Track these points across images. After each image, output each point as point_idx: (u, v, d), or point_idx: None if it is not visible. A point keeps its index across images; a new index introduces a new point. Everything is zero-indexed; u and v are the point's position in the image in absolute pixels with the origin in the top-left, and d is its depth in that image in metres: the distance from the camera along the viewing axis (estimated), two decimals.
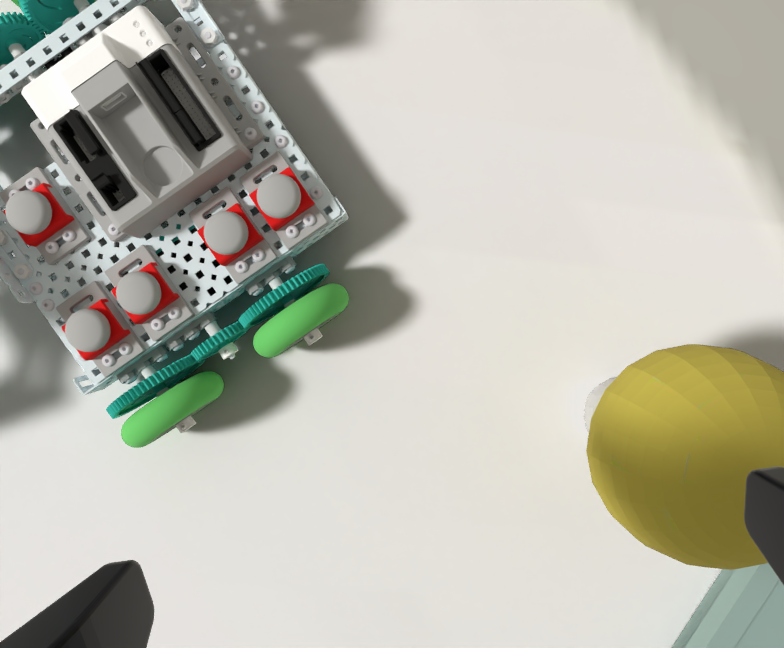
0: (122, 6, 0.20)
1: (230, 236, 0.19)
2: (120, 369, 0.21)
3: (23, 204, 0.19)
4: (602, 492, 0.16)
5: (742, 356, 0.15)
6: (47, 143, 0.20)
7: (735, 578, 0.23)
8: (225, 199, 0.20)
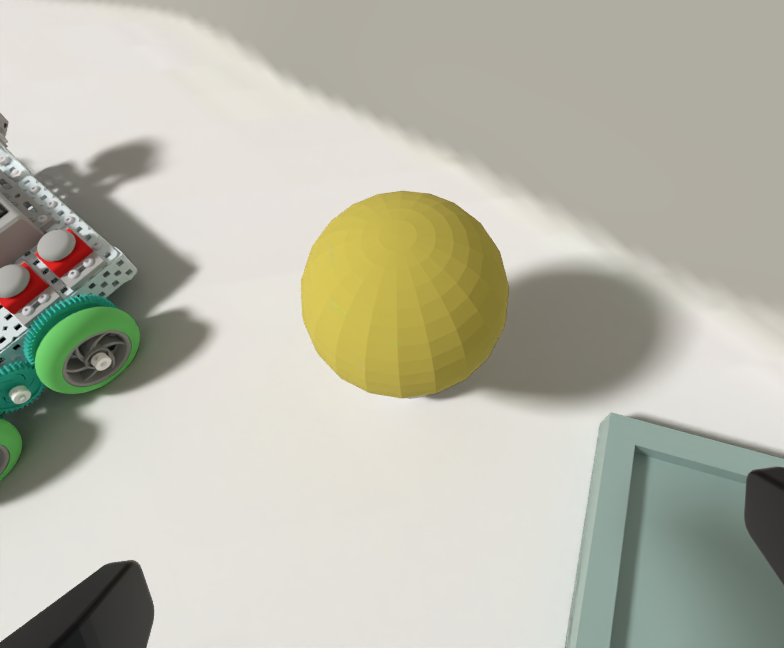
0: None
1: (10, 278, 0.22)
2: None
3: None
4: (315, 347, 0.16)
5: None
6: None
7: (592, 503, 0.20)
8: None
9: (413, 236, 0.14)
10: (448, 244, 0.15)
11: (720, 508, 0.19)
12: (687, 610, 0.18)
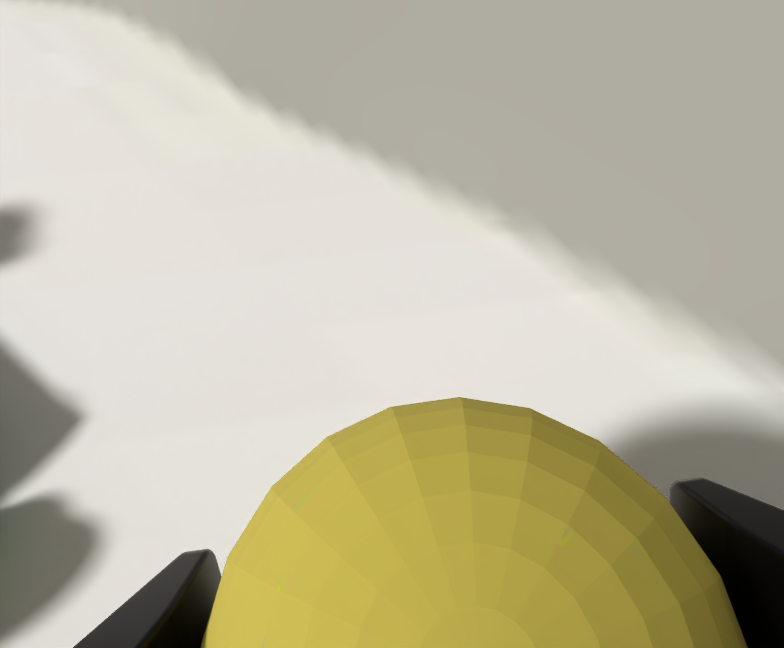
0: None
1: None
2: None
3: None
4: None
5: (439, 400, 0.08)
6: None
7: None
8: None
9: None
10: None
11: None
12: None
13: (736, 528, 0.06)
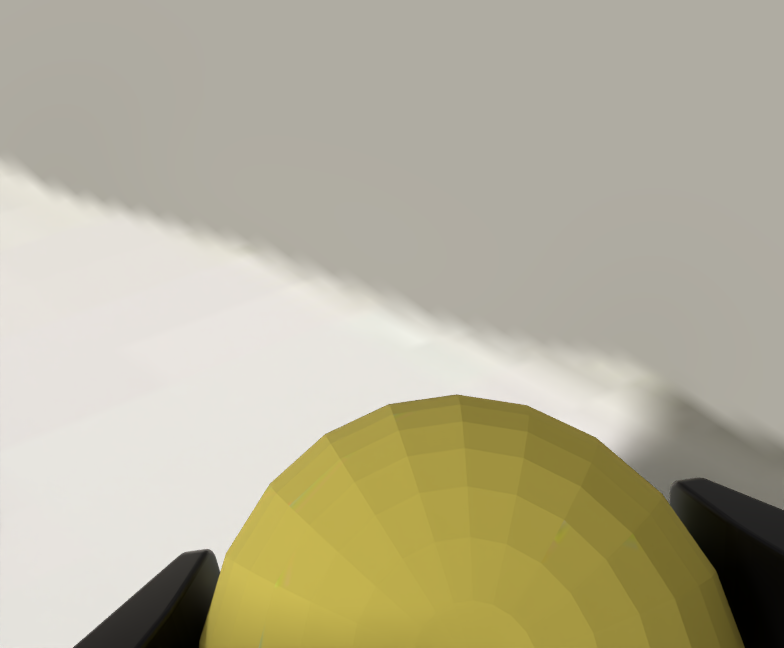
0: None
1: None
2: None
3: None
4: None
5: (436, 397, 0.08)
6: None
7: None
8: None
9: None
10: None
11: None
12: None
13: (736, 528, 0.06)
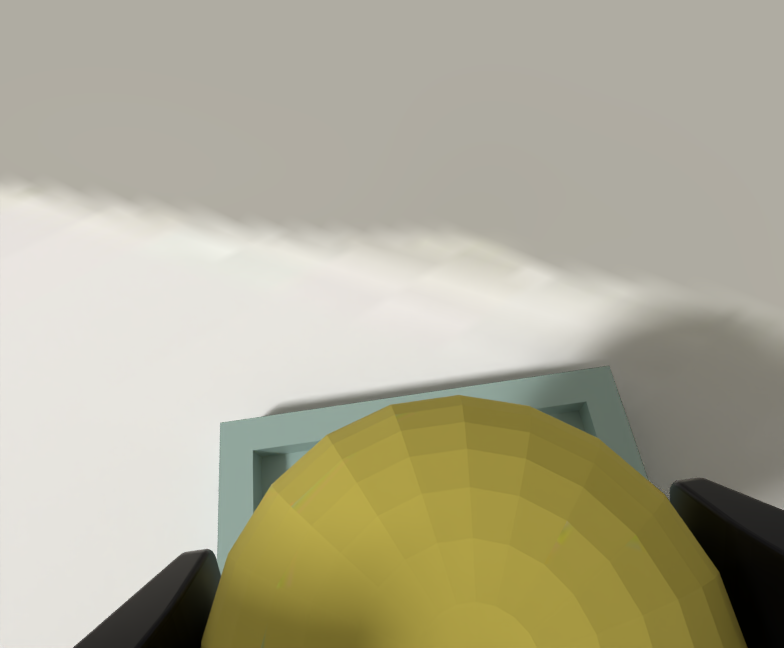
0: None
1: None
2: None
3: None
4: None
5: None
6: None
7: None
8: None
9: None
10: None
11: None
12: None
13: (736, 528, 0.06)
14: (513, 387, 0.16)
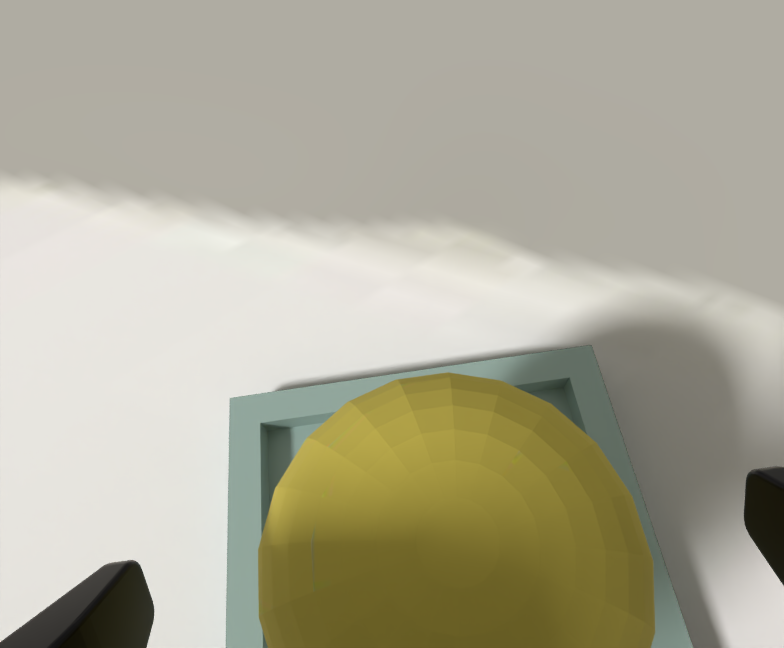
0: None
1: None
2: None
3: None
4: None
5: (432, 374, 0.10)
6: None
7: None
8: None
9: (492, 546, 0.07)
10: (566, 555, 0.07)
11: None
12: None
13: None
14: (502, 365, 0.17)
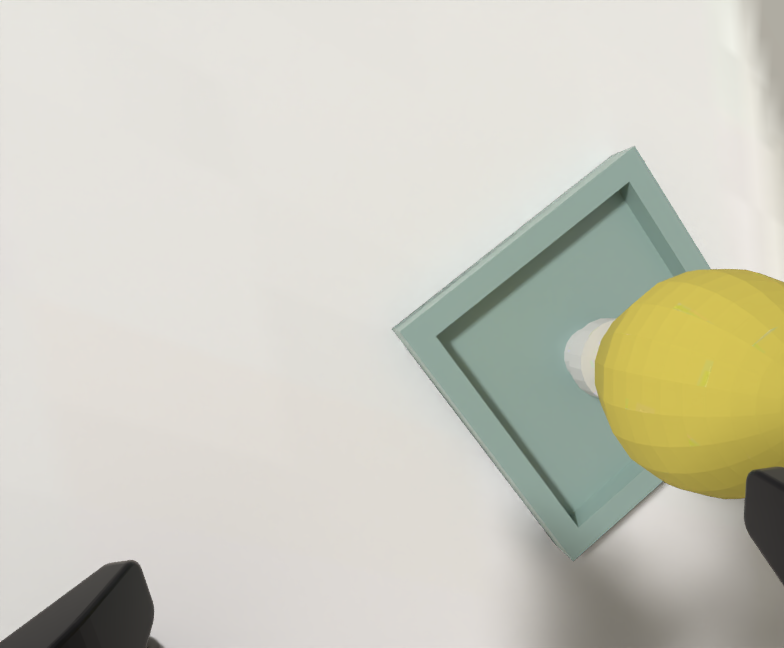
0: None
1: None
2: None
3: None
4: (630, 336, 0.15)
5: None
6: None
7: (562, 198, 0.21)
8: None
9: None
10: None
11: (638, 268, 0.23)
12: (561, 306, 0.22)
13: None
14: None
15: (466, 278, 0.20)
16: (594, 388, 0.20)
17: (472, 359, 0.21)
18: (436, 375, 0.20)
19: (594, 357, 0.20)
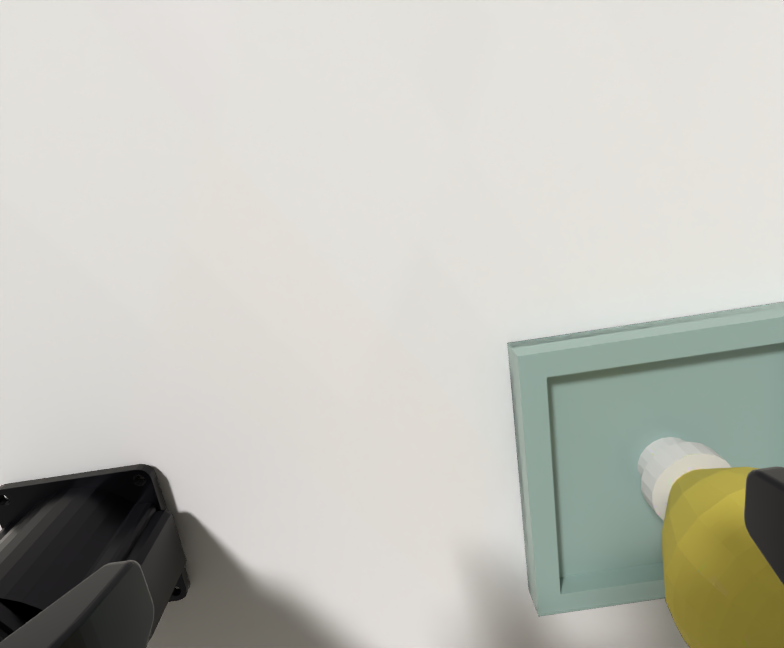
0: None
1: None
2: None
3: None
4: None
5: None
6: None
7: (740, 316, 0.20)
8: None
9: None
10: None
11: (762, 414, 0.21)
12: (670, 408, 0.21)
13: None
14: None
15: (606, 342, 0.19)
16: (656, 501, 0.20)
17: (561, 410, 0.21)
18: (525, 410, 0.20)
19: (675, 477, 0.20)
